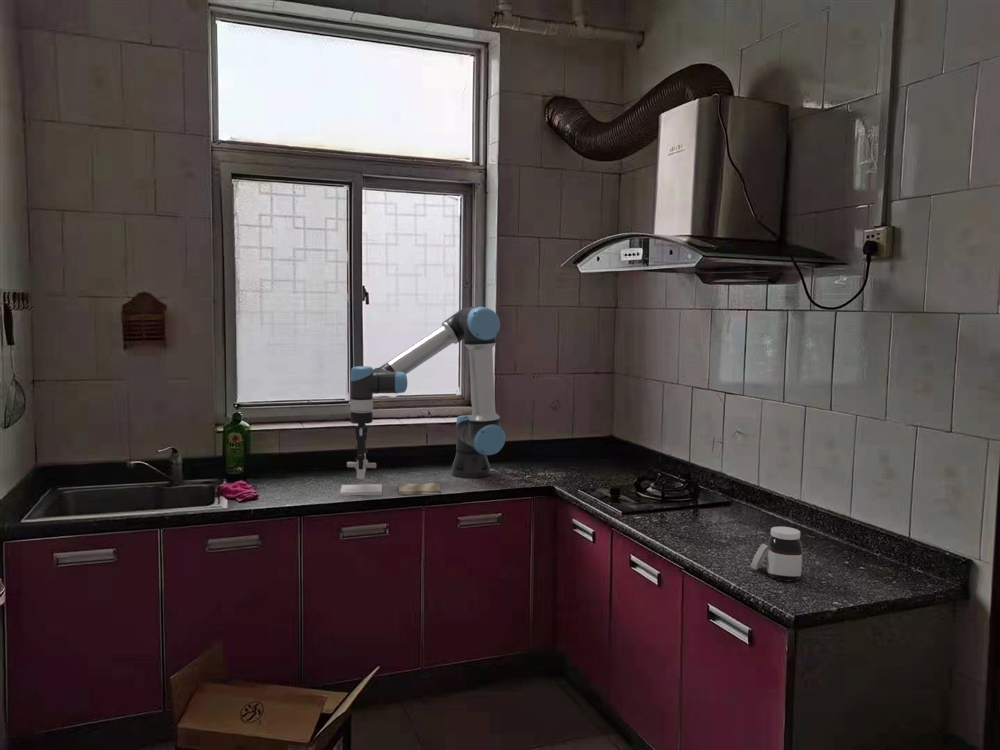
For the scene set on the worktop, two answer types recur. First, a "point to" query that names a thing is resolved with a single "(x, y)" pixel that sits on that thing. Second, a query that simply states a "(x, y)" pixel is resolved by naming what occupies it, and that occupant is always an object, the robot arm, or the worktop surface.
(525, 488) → the worktop surface
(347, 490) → the tile
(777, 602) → the worktop surface
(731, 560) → the worktop surface
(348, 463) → the pipe connector
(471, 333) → the robot arm
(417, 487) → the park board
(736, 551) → the worktop surface
